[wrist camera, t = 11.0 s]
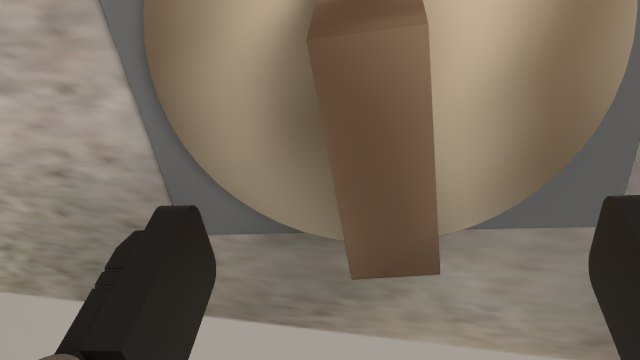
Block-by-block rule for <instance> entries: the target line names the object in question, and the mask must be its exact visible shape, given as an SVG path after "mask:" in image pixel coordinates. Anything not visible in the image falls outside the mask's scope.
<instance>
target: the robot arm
mask: <svg viewBox="0 0 640 360" xmlns="http://www.w3.org/2000/svg"><path fill="white" fill-rule="evenodd" d="M589 276H590V281H591V285H592V287H593V290H594V293H595V295H596V298H597V300H598V303H599V305H600V308H601V310H602V313H603V315H604V318H605V320H606V323H607V325H608V328H609V330H610V333H611V335H612V338H613V340H614V343H615V345H616V348H617V350H618V353H619V355H620V358H621V360H640V195H625V196H607V197H606V198H605V199H604V201H603V204H602V207H601V211H600V215H599V219H598V223H597V227H596V230H595V234H594V238H593V242H592V246H591V250H590V254H589ZM215 277H216V261H215V256H214V253H213V250H212V247H211V244H210V241H209V238H208V235H207V232H206V229H205V226H204V223H203V220H202V217H201V214H200V211H199V209H198V208H197V207H196V206H195V205H179V206H159V207H158V208H157V209H156V210H155V211H154V213H153V215H152V217H151V219H150V221H149V222H148V224H147V226H146V228H145V230H140V231H134V232H133V233H132V234H131V235H130V236H129V237H128V238H127V239H126V240H124V241H123V242H122V243H121V244H120V245H119V246H118V247H117V248H116V249H115V251H114V253H113V254H112V256H111V258H110V259H109V261H108V263H107V265H106V266H105V272H102V273H101V275H100V277H99V278H98V280H97V282H96V284H95V289H92V290H91V292H90V294H89V296H88V297H87V299H86V301H85V303H84V304H83V306H82V308H81V310H80V311H79V313H78V315H77V316H76V318H75V320H74V322H73V323H72V325H71V327H70V328H69V330H68V332H67V334H66V335H65V337H64V339H63V340H62V342H61V344H60V346H59V347H58V349H57V351H56V352H55V354H54V355H51V356H48V357H44V358H42V359H39V360H188V359H189V356H190V353H191V350H192V347H193V344H194V341H195V339H196V336H197V333H198V330H199V327H200V324H201V321H202V318H203V316H204V313H205V310H206V307H207V304H208V301H209V298H210V295H211V292H212V289H213V287H214V283H215Z"/></svg>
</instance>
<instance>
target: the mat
mask: <svg viewBox="0 0 640 360" xmlns="http://www.w3.org/2000/svg"><path fill="white" fill-rule="evenodd" d="M144 1H145V0H100V3H101V5H102V8H103V11H104V14H105V16H106V19H107V22H108V25H109V28H110V30H111V33H112V36H113V39H114V41H115V44H116V47H117V50H118V53H119V55H120V58H121V61H122V64H123V66H124V69H125V72H126V75H127V78H128V80H129V83H130V86H131V89H132V91H133V94H134V97H135V100H136V102H137V105H138V108H139V111H140V114H141V116H142V119H143V122H144V125H145V127H146V130H147V133H148V136H149V139H150V141H151V144H152V147H153V150H154V152H155V155H156V158H157V161H158V164H159V166H160V169H161V172H162V175H163V177H164V180H165V183H166V186H167V189H168V191H169V194H170V197H171V200H172V202H173V205H174V206H179V205H195V206H196V207H197V208H198V209H199V211H200V214H201V217H202V220H203V223H204V226H205V229H206V232H207V235H212V234H261V233H307V232H303V231H300V230H297V229H295V228H292V227H289V226H287V225H284V224H281V223H279V222H277V221H275V220H273V219H271V218H269V217H267V216H265V215H263V214H261V213H259V212H257V211H255V210H254V209H252V208H251V207H249V206H247V205H246V204H244V203H243V202H241V201H240V200H238V199H237V198H235V197H234V196H233V195H231V194H230V193H229V192H228V191H226V190H225V189H224V188H223V187H221V186H220V185H219V184H218V183H217V182H216V181H215V180H214V179H213V178H212V177H211V176H210V175H209V174H208V173H207V172H206V171H205V170H204V169H203V168H202V167H201V166H200V165H199V164H198V163H197V162H196V160H195V159H194V158H193V157H192V155H191V154H190V153H189V152H188V150H187V149H186V148H185V147H184V145H183V144H182V142H181V141H180V139H179V137H178V136H177V134H176V133H175V131H174V129H173V128H172V126H171V125H170V123H169V121H168V119H167V116H166V114H165V112H164V110H163V108H162V106H161V104H160V101H159V99H158V96H157V93H156V90H155V87H154V84H153V81H152V78H151V74H150V71H149V65H148V60H147V54H146V49H145V41H144V19H143V11H144ZM639 141H640V0H637V17H636V25H635V33H634V41H633V45H632V49H631V53H630V56H629V60H628V64H627V68H626V71H625V74H624V76H623V79H622V81H621V84H620V86H619V88H618V91H617V93H616V96H615V98H614V100H613V102H612V104H611V106H610V107H609V109H608V111H607V113H606V114H605V116H604V118H603V120H602V121H601V123H600V125H599V126H598V128H597V129H596V131H595V132H594V133H593V135H592V136H591V137H590V139H589V140H588V141H587V143H586V144H585V145H584V147H583V148H582V149H581V150H580V152H579V153H578V154H577V155H576V156H575V157H574V158H573V159H572V160H571V161H570V162H569V163H568V164H567V165H566V167H565V168H564V169H563V170H562V171H561V172H559V173H558V174H557V175H556V176H555V177H554V178H552V179H551V180H550V181H549V182H548V183H547V184H545V185H544V186H543V187H542V188H541V189H539V190H538V191H536V192H535V193H533V194H532V195H531V196H529V197H528V198H526V199H525V200H523V201H522V202H520V203H519V204H517V205H515V206H514V207H512V208H510V209H508V210H506V211H505V212H503V213H501V214H499V215H497V216H495V217H493V218H491V219H488V220H486V221H484V222H481V223H479V224H477V225H474V226H472V227H469V228H466V229H503V228H551V227H597V223H598V219H599V215H600V211H601V207H602V204H603V201H604V199H605V198H606V197H607V196H624V192H625V189H626V186H627V182H628V179H629V175H630V172H631V169H632V165H633V162H634V158H635V155H636V151H637V148H638V145H639Z"/></svg>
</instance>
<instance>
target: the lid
mask: <svg viewBox="0 0 640 360" xmlns="http://www.w3.org/2000/svg"><path fill="white" fill-rule="evenodd" d="M636 17H637V0H145V1H144V11H143V19H144V41H145V49H146V54H147V60H148V65H149V71H150V74H151V78H152V81H153V84H154V87H155V90H156V93H157V96H158V99H159V101H160V104H161V106H162V108H163V110H164V112H165V114H166V116H167V119H168V121H169V123H170V125H171V126H172V128H173V129H174V131H175V133H176V134H177V136H178V137H179V139H180V141H181V142H182V144H183V145H184V147H185V148H186V149H187V150H188V152H189V153H190V154H191V155H192V157H193V158H194V159H195V160H196V162H197V163H198V164H199V165H200V166H201V167H202V168H203V169H204V170H205V171H206V172H207V173H208V174H209V175H210V176H211V177H212V178H213V179H214V180H215V181H216V182H217V183H218V184H219V185H220V186H221V187H223V188H224V189H225V190H226V191H228V192H229V193H230V194H231V195H233V196H234V197H235V198H237V199H238V200H240V201H241V202H243V203H244V204H246V205H247V206H249V207H251V208H252V209H254V210H255V211H257V212H259V213H261V214H263V215H265V216H267V217H269V218H271V219H273V220H275V221H277V222H279V223H281V224H284V225H287V226H289V227H292V228H295V229H297V230H300V231H303V232H307V233H310V234H314V235H318V236H321V237H325V238H331V239H337V240H343V241H345V246H346V252H347V257H348V262H349V267H350V273H351V278H352V280H355V279H371V278H388V277H404V276H421V275H438V274H440V260H439V239H438V236H442V235H447V234H450V233H453V232H457V231H460V230H463V229H466V228H469V227H472V226H474V225H477V224H479V223H481V222H484V221H486V220H488V219H491V218H493V217H495V216H497V215H499V214H501V213H503V212H505V211H506V210H508V209H510V208H512V207H514V206H515V205H517V204H519V203H520V202H522V201H523V200H525V199H526V198H528V197H529V196H531V195H532V194H533V193H535V192H536V191H538V190H539V189H541V188H542V187H543V186H544V185H545V184H547V183H548V182H549V181H550V180H551V179H552V178H554V177H555V176H556V175H557V174H558V173H559V172H561V171H562V170H563V169H564V168H565V167H566V165H567V164H568V163H569V162H570V161H571V160H572V159H573V158H574V157H575V156H576V155H577V154H578V153H579V152H580V150H581V149H582V148H583V147H584V145H585V144H586V143H587V141H588V140H589V139H590V137H591V136H592V135H593V133H594V132H595V131H596V129H597V128H598V126H599V125H600V123H601V121H602V120H603V118H604V116H605V114H606V113H607V111H608V109H609V107H610V106H611V104H612V102H613V100H614V98H615V96H616V93H617V91H618V88H619V86H620V84H621V81H622V79H623V76H624V74H625V71H626V68H627V64H628V60H629V56H630V53H631V49H632V45H633V41H634V33H635V25H636Z"/></svg>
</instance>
